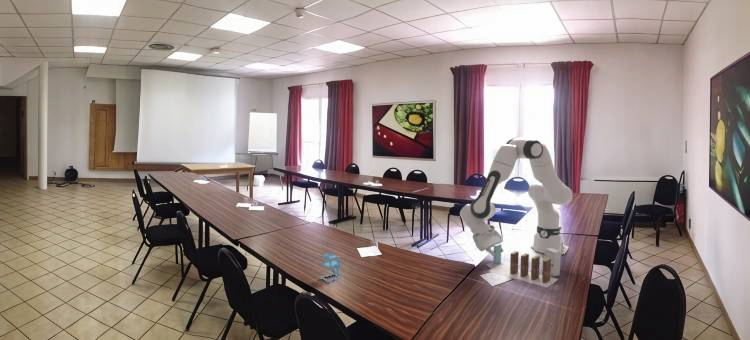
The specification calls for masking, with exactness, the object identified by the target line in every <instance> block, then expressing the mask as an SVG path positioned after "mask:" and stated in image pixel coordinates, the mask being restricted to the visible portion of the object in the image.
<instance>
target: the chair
mask: <svg viewBox="0 0 750 340" xmlns="http://www.w3.org/2000/svg"><path fill="white" fill-rule="evenodd" d="M321 258H322V261H323V262H322V263H321V267H325V268H327V269H330V270H331V272H332V274H326V275H322V276H319V279H320V278H323V277H324V276H330V275H336V274H337V276H333V278H332V279H331V278H330V279H328V278H323V279H325V280H327V281H329V282H331V281H333V280H334V279H335V278H337V277H338V276H340V277H341V271H340V268H341V267H342V263H341V262H340V260H341V256H338V255H335V254H333V253H329V252H327V253H325V254H324V255H322V256H321ZM335 259H337V261H334V260H335ZM326 260H328V262H326ZM337 279H338V278H337ZM334 281H335V280H334ZM334 281H333V282H334ZM329 282H328V283H329ZM331 283H332V282H331Z"/></svg>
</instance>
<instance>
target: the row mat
mask: <svg viewBox="0 0 750 340" xmlns="http://www.w3.org/2000/svg"><path fill="white" fill-rule="evenodd" d="M520 270H521V268H518V272H517V273H515V274H514V275H513V274H510V266H508V265H504V264H499V265H497V266H495V267H493V268H491V269H489V270H488V272H490V273H493V274H497V275H501V276H504V277H508V278H512V279H515V280H519V281H521V282H527V283H530V284H533V285H536V286H540V287H544V288H549V287H550V286H552V285H553V284H554V283H556V282H557V281H558V280H559V278H554V277H553V276H550V281H549V282H547V283H542V274H540V273H539V278H537V279H536V280H531V271H528V275H527V276H525V277H520Z"/></svg>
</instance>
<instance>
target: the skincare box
mask: <svg viewBox="0 0 750 340" xmlns="http://www.w3.org/2000/svg"><path fill="white" fill-rule="evenodd" d="M547 258H549V259H551V271H550V277H554V276H560V274H561V272H560V271H561V261H562V260H561V259H562V254H561V251H558V250H556V249H553V248H547V249H545V254H544V260H545V259H547Z"/></svg>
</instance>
